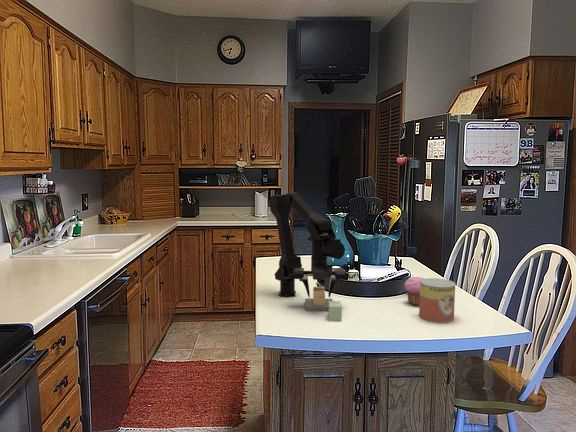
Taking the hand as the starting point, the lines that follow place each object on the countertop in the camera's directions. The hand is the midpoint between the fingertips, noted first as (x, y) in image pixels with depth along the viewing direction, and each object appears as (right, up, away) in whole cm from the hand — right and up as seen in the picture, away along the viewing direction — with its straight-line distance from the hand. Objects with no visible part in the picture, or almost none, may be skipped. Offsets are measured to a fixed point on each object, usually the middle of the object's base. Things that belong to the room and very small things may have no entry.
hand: (319, 297), depth 167 cm
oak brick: (0, -2, 0) cm, 2 cm away
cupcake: (+36, -3, +4) cm, 37 cm away
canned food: (+39, -5, -11) cm, 40 cm away
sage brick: (+5, -5, -12) cm, 13 cm away
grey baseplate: (0, -4, 0) cm, 4 cm away
